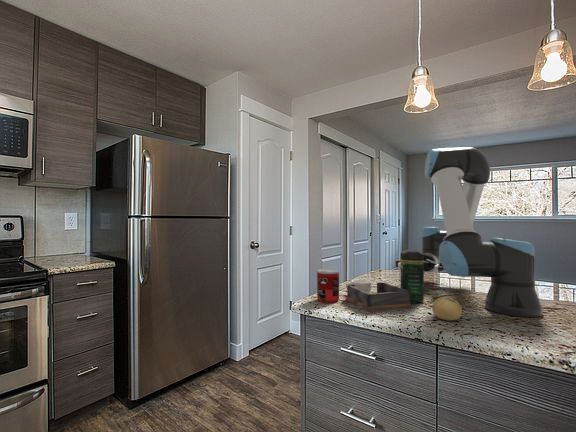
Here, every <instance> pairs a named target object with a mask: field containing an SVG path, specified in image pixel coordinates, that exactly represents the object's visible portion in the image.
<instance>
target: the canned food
mask: <svg viewBox="0 0 576 432" xmlns="http://www.w3.org/2000/svg"><path fill="white" fill-rule="evenodd" d="M316 283H317V284H316V290H317V291H316V296H317V297H316V299H317V300H318V302H319V303H325V304H333V303H337V302H339V300H340V271H339V270H338V269H333V268H320V269H317V271H316Z"/></svg>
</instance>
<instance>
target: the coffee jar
mask: <svg viewBox="0 0 576 432" xmlns="http://www.w3.org/2000/svg"><path fill="white" fill-rule="evenodd" d="M399 259H400V260H399V261H401V270H400V288H402V289H405V290H408V291H411V304H412V303H417V304H418V303H423V302H424V298H425V295H424V294H425V293H424V291H425V289H424V288H425V287H424V286H425V278H424V277H425V275H424V274H425V271H424V257H423V254H422V252H420V251H417V249H412V248H411V249H409V248H408V249H404V250H402V251H400V258H399Z"/></svg>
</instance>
